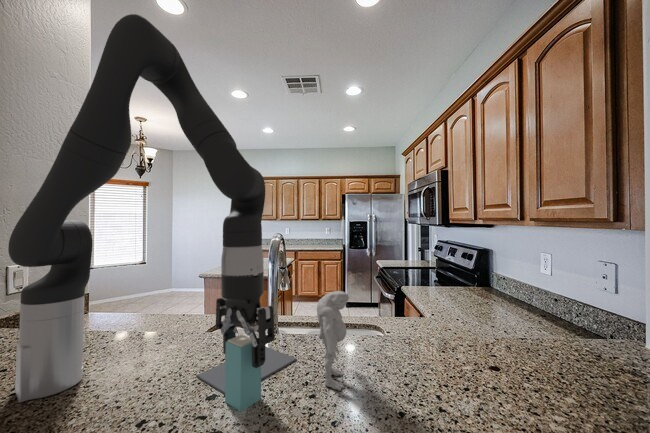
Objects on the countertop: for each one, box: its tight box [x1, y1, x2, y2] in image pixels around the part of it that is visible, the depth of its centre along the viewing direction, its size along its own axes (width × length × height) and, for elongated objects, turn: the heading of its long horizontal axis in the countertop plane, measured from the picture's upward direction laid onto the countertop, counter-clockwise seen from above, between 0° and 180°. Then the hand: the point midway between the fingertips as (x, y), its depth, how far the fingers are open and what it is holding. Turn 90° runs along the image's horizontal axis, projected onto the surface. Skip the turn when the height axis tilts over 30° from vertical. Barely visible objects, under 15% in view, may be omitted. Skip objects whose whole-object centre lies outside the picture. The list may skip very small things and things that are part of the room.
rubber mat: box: [196, 345, 298, 395], centre depth 62 cm, size 18×12×1 cm, turn 143°
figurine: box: [316, 290, 350, 392], centre depth 57 cm, size 18×7×18 cm, turn 1°
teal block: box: [224, 333, 262, 413], centre depth 50 cm, size 4×4×11 cm
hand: (243, 359), depth 51 cm, fingers open, 8 cm apart
